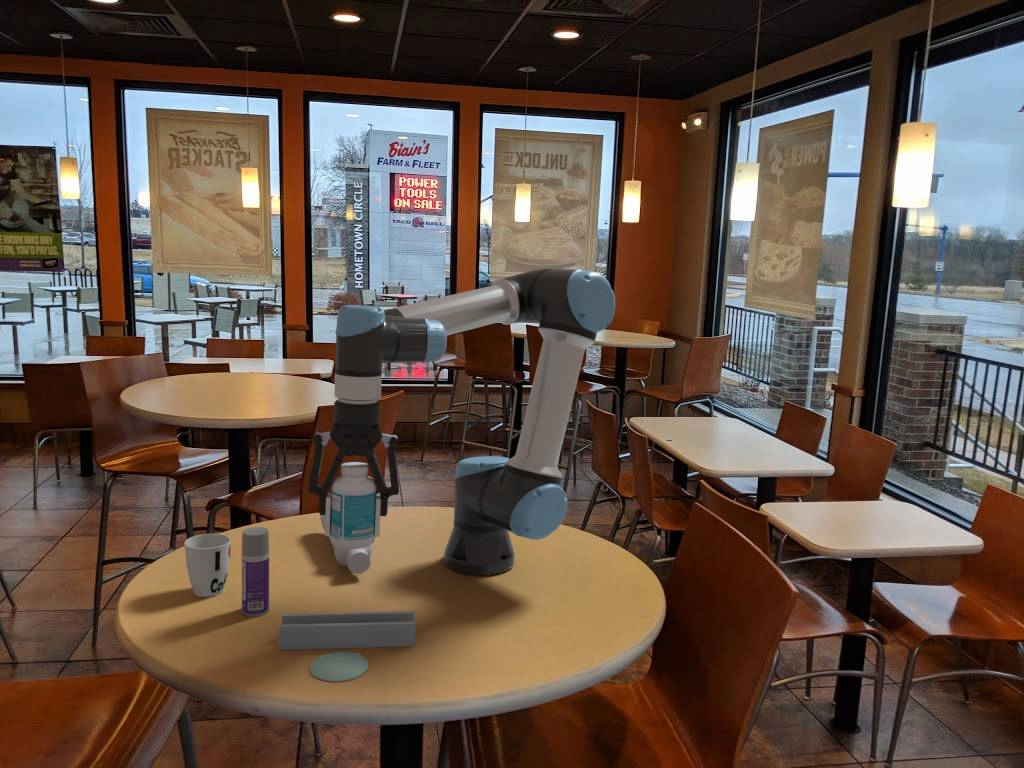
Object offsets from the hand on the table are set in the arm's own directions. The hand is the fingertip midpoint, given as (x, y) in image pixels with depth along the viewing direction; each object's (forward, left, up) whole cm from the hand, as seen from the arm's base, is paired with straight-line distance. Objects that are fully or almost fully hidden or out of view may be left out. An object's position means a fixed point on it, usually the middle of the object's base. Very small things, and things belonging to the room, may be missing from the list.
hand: (352, 533), depth 133 cm
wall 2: (0, +1, -18) cm, 18 cm away
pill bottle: (0, 0, -2) cm, 2 cm away
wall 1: (0, +5, -18) cm, 18 cm away
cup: (+27, -19, -18) cm, 38 cm away
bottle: (+3, -38, -18) cm, 42 cm away
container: (+17, -10, -18) cm, 27 cm away
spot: (+1, +11, -18) cm, 21 cm away
